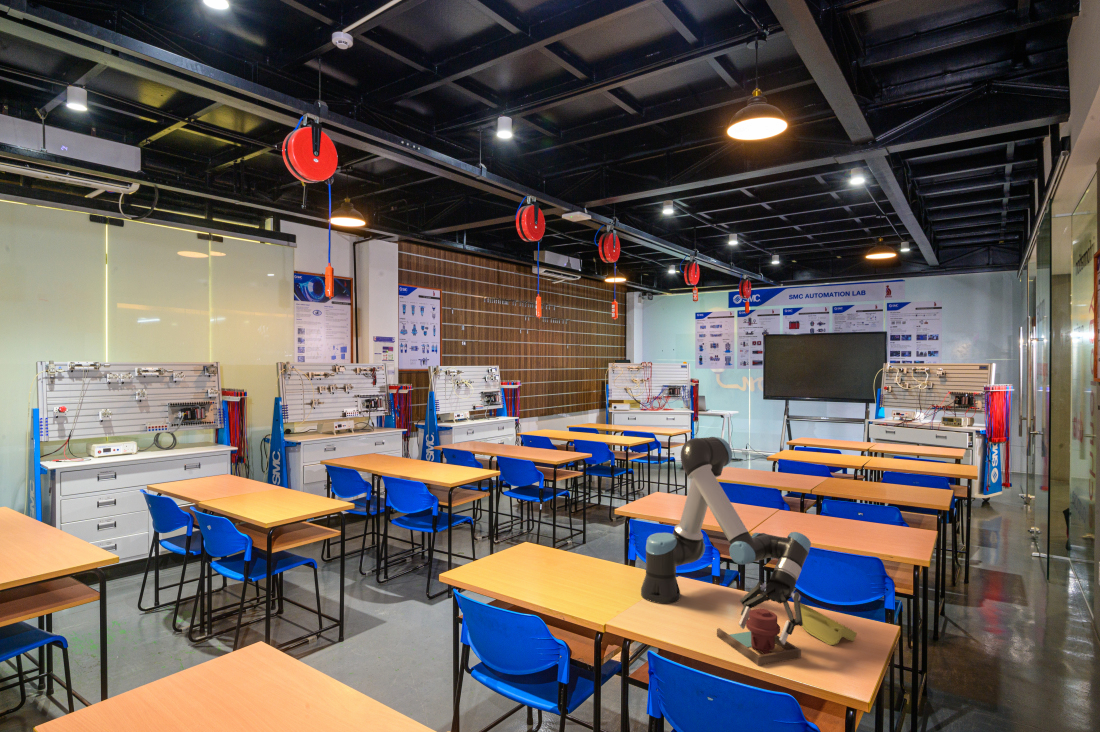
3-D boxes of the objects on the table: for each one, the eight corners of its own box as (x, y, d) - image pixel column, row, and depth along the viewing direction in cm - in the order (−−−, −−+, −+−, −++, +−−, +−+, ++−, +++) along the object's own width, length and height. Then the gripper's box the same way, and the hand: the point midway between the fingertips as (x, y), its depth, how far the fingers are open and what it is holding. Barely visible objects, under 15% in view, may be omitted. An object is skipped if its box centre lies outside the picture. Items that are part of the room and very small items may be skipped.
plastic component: (860, 634, 182) (842, 625, 178) (852, 655, 181) (834, 647, 177) (809, 607, 200) (792, 598, 196) (801, 626, 199) (784, 618, 195)
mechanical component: (778, 661, 167) (743, 653, 172) (781, 647, 176) (748, 640, 181) (778, 620, 168) (744, 613, 172) (781, 608, 177) (748, 602, 181)
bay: (716, 636, 183) (717, 628, 183) (756, 630, 189) (756, 622, 189) (758, 665, 164) (758, 657, 164) (801, 658, 170) (801, 649, 170)
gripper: (827, 593, 175) (804, 655, 165) (754, 571, 194) (730, 626, 184) (819, 580, 172) (795, 642, 162) (746, 559, 191) (721, 614, 181)
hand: (760, 634), depth 173 cm, fingers open, 13 cm apart
